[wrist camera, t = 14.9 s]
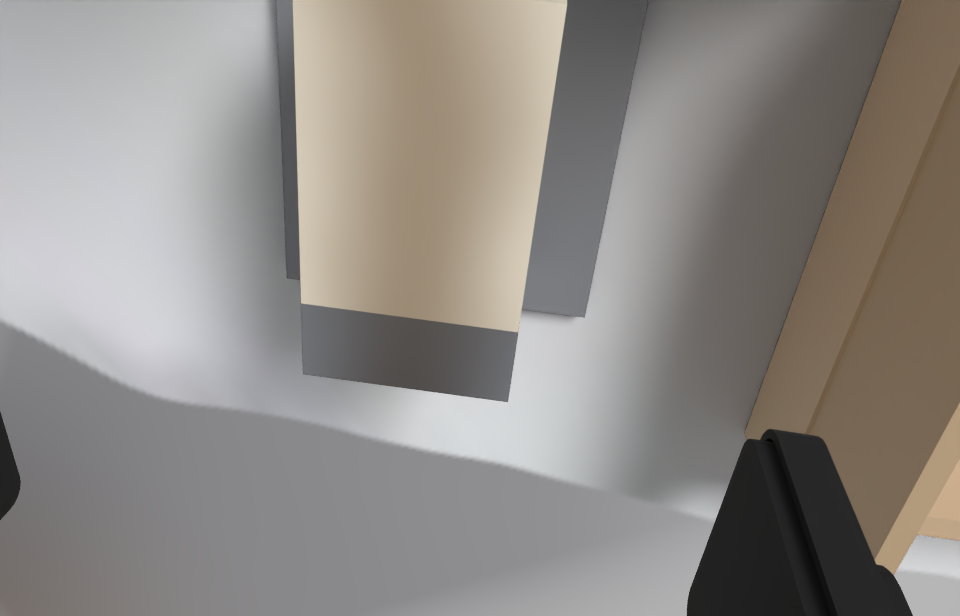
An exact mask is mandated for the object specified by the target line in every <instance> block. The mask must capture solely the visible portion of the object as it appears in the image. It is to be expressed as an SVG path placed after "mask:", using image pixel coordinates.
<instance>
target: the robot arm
mask: <svg viewBox="0 0 960 616" xmlns="http://www.w3.org/2000/svg"><path fill="white" fill-rule="evenodd" d="M20 483H21V482H20V476H19V473H18V469H17V466H16V463H15V460H14V456H13V453H12V449H11V446H10V443H9V439H8V436H7V433H6V429H5V426H4V423H3V419H2V416H1V413H0V520H1V519H2V517H3V516H4V515H5V514H6V513H7V512H8V511H9V510H10V509H11V507H12V506H13V505H14V503H15V501H16V499H17V497H18V494H19V490H20ZM687 616H913V615H912V613H911V610H910V608H909V606H908V603H907V601H906V599H905V597H904V594H903V592H902V590H901V587H900V586H899V584H898V582H897V580H896V579H895V577H894V575H893V574H892V573H891V572H890V571H889V570H888V569H887V568H885V567H884V566H882V565H877V564H876V562H875V560H874V558H873V555H872V553H871V550H870V548H869V546H868V543H867V541H866V538H865V536H864V534H863V531H862V529H861V526H860V524H859V522H858V519H857V517H856V514H855V512H854V510H853V507H852V505H851V503H850V500H849V498H848V495H847V493H846V491H845V488H844V486H843V483H842V481H841V479H840V476H839V474H838V471H837V469H836V467H835V464H834V462H833V459H832V457H831V455H830V452H829V450H828V447H827V445H826V443H825V442H824V440H823V439H822V438H820V437H819V436H814V435H808V434H801V433H795V432H788V431H782V430H775V429H768V430H766V431H765V432H764V433H763V435H762V437H761V439H760V440H757V439H748V440H747V441H746V442H745V443H744V446H743V448H742V450H741V453H740V456H739V458H738V461H737V464H736V467H735V469H734V472H733V475H732V477H731V480H730V483H729V486H728V488H727V491H726V494H725V496H724V499H723V502H722V504H721V507H720V510H719V513H718V515H717V518H716V521H715V523H714V526H713V529H712V532H711V534H710V537H709V540H708V542H707V545H706V548H705V551H704V553H703V556H702V559H701V561H700V564H699V567H698V570H697V572H696V575H695V578H694V580H693V583H692V586H691V588H690V592H689V597H688V604H687Z"/></svg>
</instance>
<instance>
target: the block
mask: <svg viewBox="0 0 960 616" xmlns="http://www.w3.org/2000/svg"><path fill="white" fill-rule="evenodd" d="M566 9H567V0H293V28H294V65H295V101H296V137H297V174H298V210H299V246H300V283H301V319H302V355H303V374H306V375H313V376H320V377H328V378H335V379H342V380H350V381H357V382H364V383H372V384H379V385H386V386H394V387H401V388H408V389H416V390H423V391H430V392H438V393H445V394H452V395H460V396H467V397H474V398H482V399H489V400H496V401H504V402H508V397H509V391H510V384H511V377H512V371H513V364H514V357H515V351H516V344H517V337H518V330H519V324H520V317H521V310H522V304H523V297H524V290H525V284H526V277H527V270H528V264H529V257H530V250H531V244H532V237H533V230H534V223H535V217H536V210H537V203H538V197H539V190H540V183H541V177H542V170H543V163H544V157H545V150H546V143H547V136H548V130H549V123H550V116H551V110H552V103H553V96H554V90H555V83H556V76H557V70H558V63H559V56H560V49H561V43H562V36H563V29H564V23H565V16H566Z"/></svg>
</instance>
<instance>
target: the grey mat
mask: <svg viewBox="0 0 960 616" xmlns="http://www.w3.org/2000/svg"><path fill="white" fill-rule="evenodd" d="M647 4H648V0H567V9H566V16H565V23H564V29H563V36H562V43H561V49H560V56H559V63H558V70H557V76H556V83H555V90H554V96H553V103H552V110H551V116H550V123H549V130H548V136H547V143H546V150H545V157H544V163H543V170H542V177H541V183H540V190H539V197H538V203H537V210H536V217H535V223H534V230H533V237H532V244H531V250H530V257H529V264H528V270H527V277H526V284H525V290H524V297H523V304H522V309H524V310H532V311H539V312H547V313H554V314H562V315H569V316H577V317H585V313H586V308H587V303H588V298H589V293H590V288H591V283H592V278H593V273H594V268H595V263H596V258H597V253H598V248H599V243H600V238H601V233H602V228H603V224H604V219H605V214H606V209H607V204H608V199H609V194H610V189H611V184H612V179H613V174H614V169H615V164H616V159H617V154H618V149H619V144H620V139H621V134H622V129H623V124H624V119H625V114H626V109H627V104H628V99H629V94H630V89H631V84H632V79H633V74H634V69H635V64H636V59H637V54H638V49H639V44H640V39H641V34H642V29H643V24H644V19H645V14H646V9H647ZM276 12H277V37H278V63H279V89H280V115H281V140H282V166H283V192H284V218H285V243H286V269H287V278H290V279H297V280H300V246H299V210H298V174H297V137H296V101H295V65H294V28H293V0H276Z"/></svg>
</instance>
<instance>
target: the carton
mask: <svg viewBox="0 0 960 616" xmlns="http://www.w3.org/2000/svg"><path fill="white" fill-rule="evenodd" d="M768 429H775V430H782V431H788V432H795V433H801V434H808V435H814V436H819V437H820V438H822V439H823V440H824V442H825V443H826V445H827V447H828V450H829V452H830V455H831V457H832V459H833V462H834V464H835V467H836V469H837V471H838V474H839V476H840V479H841V481H842V483H843V486H844V488H845V491H846V493H847V495H848V498H849V500H850V503H851V505H852V507H853V510H854V512H855V514H856V517H857V519H858V522H859V524H860V526H861V529H862V531H863V534H864V536H865V538H866V541H867V543H868V546H869V548H870V550H871V553H872V555H873V558H874V560H875V562H876V564H877V565H882V566H884V567H885V568H887V569H888V570H889V571H890V572H891V573H892V574H893V575H894V574H895V572H896V570H897V569H898V567H899V565H900V563H901V562H902V560H903V558H904V556H905V555H906V553H907V551H908V549H909V547H910V546H911V544H912V542H913V540H914V539H915V537H916V535H923V536H931V537H938V538H945V539H952V540H960V0H902V1H901V4H900V7H899V9H898V12H897V15H896V18H895V20H894V23H893V26H892V29H891V31H890V34H889V37H888V40H887V42H886V45H885V48H884V51H883V53H882V56H881V59H880V62H879V64H878V67H877V70H876V73H875V75H874V78H873V81H872V84H871V86H870V89H869V92H868V95H867V97H866V100H865V103H864V106H863V108H862V111H861V114H860V117H859V119H858V122H857V125H856V128H855V130H854V133H853V136H852V139H851V141H850V144H849V147H848V150H847V152H846V155H845V158H844V161H843V163H842V166H841V169H840V172H839V174H838V177H837V180H836V183H835V185H834V188H833V191H832V194H831V196H830V199H829V202H828V205H827V207H826V210H825V213H824V216H823V218H822V221H821V224H820V227H819V229H818V232H817V235H816V238H815V240H814V243H813V246H812V249H811V251H810V254H809V257H808V260H807V262H806V265H805V268H804V271H803V273H802V276H801V279H800V282H799V284H798V287H797V290H796V293H795V295H794V298H793V301H792V304H791V306H790V309H789V312H788V315H787V317H786V320H785V323H784V326H783V328H782V331H781V334H780V337H779V339H778V342H777V345H776V348H775V350H774V353H773V356H772V359H771V361H770V364H769V367H768V370H767V372H766V375H765V378H764V381H763V383H762V386H761V389H760V392H759V394H758V397H757V400H756V403H755V405H754V408H753V411H752V414H751V416H750V419H749V422H748V425H747V427H746V430H745V436H746V439H747V440H748V439H757V440H760V439H761V437H762V435H763V433H764V432H765V431H766V430H768Z"/></svg>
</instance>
